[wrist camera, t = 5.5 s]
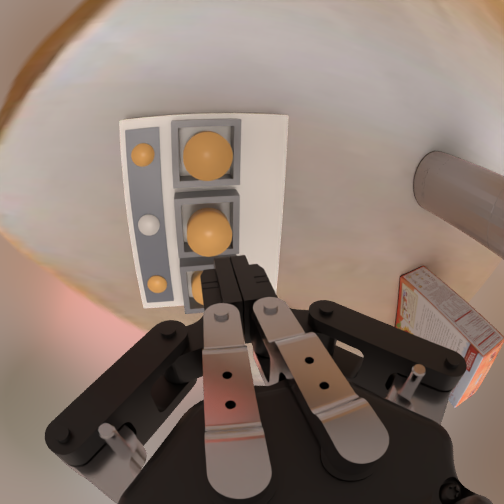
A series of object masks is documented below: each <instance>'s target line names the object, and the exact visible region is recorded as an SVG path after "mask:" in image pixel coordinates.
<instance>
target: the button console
mask: <svg viewBox="0 0 504 504" xmlns="http://www.w3.org/2000/svg"><path fill="white" fill-rule="evenodd" d="M288 118H289V115H281V114H262V113H199V114H178V115H163V116H152V117H141V118H132V119H125V120H119V129H120V148H121V162H122V174H123V185H124V194H125V203H126V211H127V219H128V226H129V233H130V239H131V245H132V252H133V257H134V263H135V268H136V274H137V279H138V284H139V289H140V294H141V298H142V303H143V307H144V308H156V307H171V306H184V308H185V314H190V313H202V312H204V305H202V304H200V303H198V302H197V301H196V300H195V299H194V297H193V295H192V287H191V278H192V275H193V273H194V272H195V271H203V270H206V269H214V258H221V257H229V258H230V256H239V255H245V256H246V258H247V261H248V263H249V265H250V264H258V265H259V266H261V267H262V268H263V269H264V270H265V272H266V274H267V276H268V278H269V281H270V282H271V285H272V287H273V289H274V291H275V293H276V290H277V279H278V268H279V256H280V243H281V230H282V217H283V203H284V188H285V172H286V156H287V138H288ZM202 131H212V132H215V133H218V134H219V135H221V136H222V137H224V138H225V139H226V140H227V141H228V143H229V144H230V146H231V148H232V152H233V160H232V164H231V166H230V168H229V170H228V171H227V172H226V173H225V174H224V175H223V176H222V177H220V178H218V179H216V180H212V181H202V180H199V179H196V178H194V177H193V176H192V175H190V174H189V173H188V171H187V170H186V168H185V166H184V162H183V151H184V147H185V145H186V143H187V141H188V140H189V139H190V138H191V137H192V136H193V135H195V134H196V133H199V132H202ZM202 208H215V209H218V210H220V211H221V212H222V213H224V214H225V216H226V217H227V219H228V222H229V224H230V227H231V230H232V240H231V243H230V245H229V247H228V248H227V249H226V250H225V251H224V252H222V253H221V254H219V255H216V256H212V257H206V256H201V255H199V254H197V253H195V252H194V251H193V250H192V249H191V248H190V246H189V244H188V241H187V223H188V220H189V218H190V217H191V215H192V214H193V213H194V212H196V211H197V210H199V209H202Z"/></svg>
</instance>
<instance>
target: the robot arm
mask: <svg viewBox="0 0 504 504" xmlns="http://www.w3.org/2000/svg"><path fill="white" fill-rule="evenodd" d="M414 193H415V197H416V200H417V202H418V203H419V205H420V206H421V207H423V208H424V209H426V210H428V211H429V212H431V213H433V214H435V215H436V216H438V217H440V218H441V219H443V220H444V221H446V222H448V223H449V224H451V225H453V226H454V227H456V228H458V229H459V230H461V231H462V232H464V233H465V234H467V235H469V236H470V237H472V238H473V239H475V240H476V241H478V242H479V243H481V244H482V245H484V246H485V247H487V248H488V249H489V250H491V251H492V252H494V253H495V254H497V255H498V256H500V257H501V258H502V259H504V176H503V175H500V174H498V173H496V172H493V171H491V170H488V169H486V168H484V167H481V166H478V165H476V164H473V163H471V162H468V161H465V160H463V159H460V158H457V157H455V156H452V155H449V154H446V153H443V152H439V151H435V152H432V153H429V154H428V155H427V156H425V158H424V159H423V160H422V161H421V163H420V164H419V166H418V169H417V171H416V175H415V179H414ZM200 279H201V288H202V296H203V304H204V315H203V316H202V318H201V319H200V320H199V321H197V322H196V323H194V324H191V325H189V326H185V325H184V324H183V323H181V322H179V321H174V320H168V321H164V322H161V323H159V324H157V325H156V326H154V327H153V328H152V329H151V330H150V331H149V332H148V333H147V334H146V335H145V336H144V337H143V338H142V339H140V340H139V341H138V342H137V343H136V344H135V345H134V346H133V347H132V348H130V350H128V351H127V352H126V353H125V354H124V355H123V356H122V357H121V358H120V359H119V360H117V361H116V362H115V363H114V364H113V365H112V366H111V367H110V368H109V369H108V370H107V371H105V373H103V374H102V375H101V376H100V377H99V378H98V379H97V380H96V381H95V382H94V383H93V384H91V385H90V386H89V387H88V388H87V389H86V390H85V391H84V392H83V393H82V394H81V395H80V396H79V397H77V398H76V399H75V400H74V401H73V402H72V403H71V404H70V405H69V406H68V407H67V408H66V409H65V410H64V411H63V412H62V413H60V415H58V416H57V417H56V418H55V419H54V420H53V421H52V422H51V423H50V424H49V425H48V427H47V429H46V432H45V441H46V444H47V446H48V448H49V449H51V451H53V452H54V453H55V454H56V455H57V456H58V457H59V458H60V459H61V460H62V461H63V462H64V463H65V464H66V465H68V466H69V467H70V468H71V469H73V470H74V471H75V472H77V473H78V474H79V475H81V476H83V477H85V478H86V479H88V480H89V481H90V482H92V484H94V485H95V486H96V487H97V488H98V489H99V490H101V491H102V492H103V493H104V494H106V495H107V496H108V497H109V498H110V499H111V500H113V501H114V502H115V503H117V504H493V503H492V502H491V501H490V500H489V499H488V498H486V497H484V496H481V495H478V494H475V493H473V492H471V491H470V490H468V489H467V488H465V487H464V486H463V485H462V484H461V483H460V481H459V480H458V478H457V475H456V471H455V466H454V460H453V445H452V441H451V438H450V436H449V434H448V433H447V431H446V430H445V429H444V428H443V427H442V426H441V422H442V419H443V416H444V413H445V409H446V406H447V403H448V399H449V396H450V393H451V392H452V390H453V389H454V388H455V386H456V385H457V383H458V382H459V380H460V379H461V377H462V376H463V375H464V373H465V371H466V369H467V364H466V361H465V359H464V358H463V357H462V356H461V355H460V354H459V353H458V352H456V351H453V350H451V349H448V348H446V347H443V346H441V345H438V344H436V343H433V342H431V341H428V340H426V339H423V338H421V337H418V336H416V335H413V334H411V333H408V332H406V331H403V330H401V329H398V328H396V327H393V326H391V325H388V324H386V323H383V322H381V321H378V320H376V319H373V318H371V317H369V316H366V315H364V314H361V313H359V312H356V311H354V310H351V309H349V308H347V307H344V306H342V305H339V304H337V303H335V302H332V301H327V300H320V301H316V302H314V303H312V304H311V305H310V307H309V310H296V309H291V308H289V307H288V305H287V304H286V302H285V301H283V300H281V299H279V298H278V297H277V295H276V293H275V291H274V289H273V287H272V285H271V282H270V281H269V278H268V276H267V274H266V272H265V270H264V269H263V268H262V267H261V266H259V265H258V264H250V265H249V263H248V261H247V258H246V256H245V255H239V256H230V258H229V257H221V258H214V269H206V270H203V272H202V274H201V276H200ZM337 340H338V341H341V342H343V343H345V344H347V345H349V346H352V347H354V348H356V349H358V350H360V351H361V352H362V353H363V355H364V358H363V357H360V356H358V355H356V354H353V353H351V352H349V351H347V350H345V349H342V348H340V347H338V346H336V341H337ZM244 341H245V343H244ZM246 343H252V345H253V357H254V360H255V362H256V364H257V367H258V369H259V372H260V374H261V376H262V379H263V381H264V383H265V386H254V384H253V378H252V373H251V367H250V362H249V356H248V350H247V346H245V344H246ZM201 376H203V389H204V390H203V391H204V400H202V401H200V402H199V403H197V404H195V405H194V406H193V407H191V408H190V409H189V410H188V411H187V412H186V413H185V414H184V415H183V416H182V418H181V419H180V420H179V422H178V423H177V424H176V426H175V427H174V428H173V430H172V431H171V432H170V434H169V435H168V436H167V438H166V439H165V440H164V442H163V443H162V444H161V445H160V447H159V448H158V449H157V451H156V452H155V453H154V455H153V456H152V457H151V458H150V460H149V461H148V462H147V464H146V465H145V466H144V467H143V465H144V463H145V461H146V457H147V455H146V450H145V448H144V444H145V443H146V442H147V441H148V440H149V439H150V437H151V436H152V435H153V434H154V433H155V432H156V431H157V429H158V428H159V427H160V426H161V425H162V423H163V422H164V421H165V420H166V419H167V418H168V416H169V415H170V414H171V413H172V411H173V410H174V409H175V408H176V407H177V406H178V404H179V403H180V402H181V401H182V399H183V398H184V397H185V396H186V395H187V394H188V392H189V391H190V390H191V389H192V387H193V386H194V385H195V383H196V381H197V378H199V377H201ZM142 467H143V469H142ZM141 469H142V470H141Z"/></svg>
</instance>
